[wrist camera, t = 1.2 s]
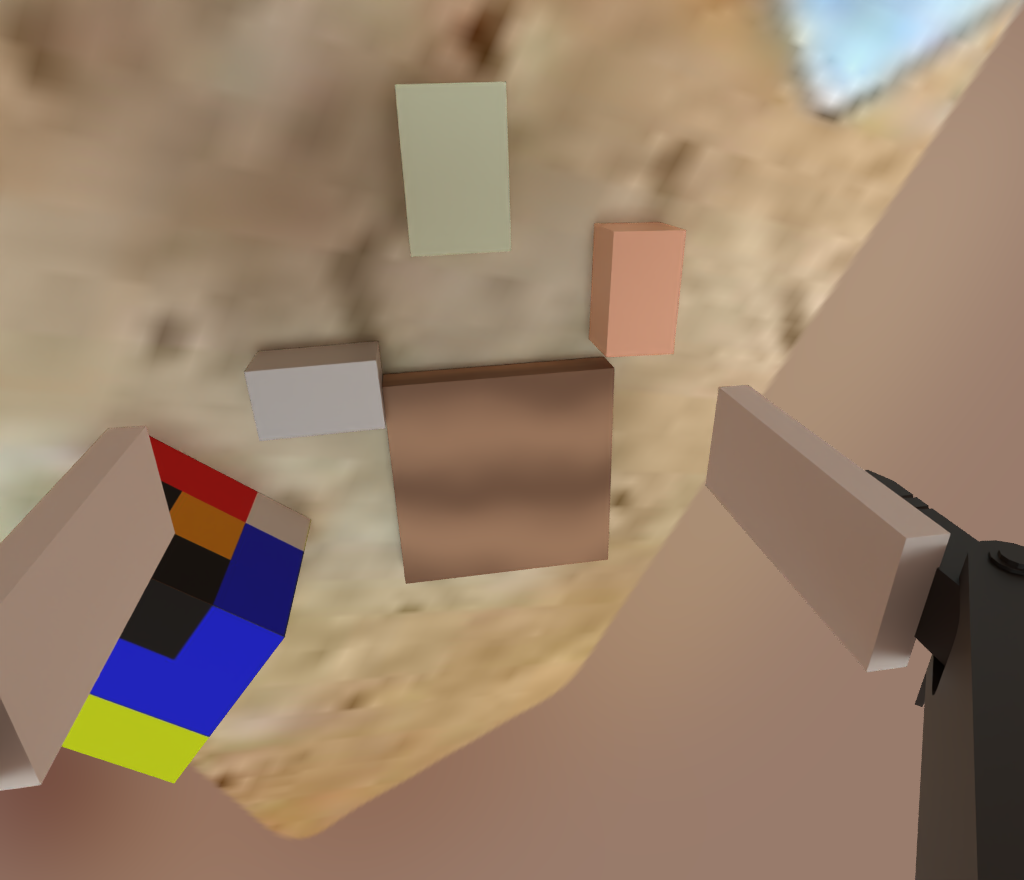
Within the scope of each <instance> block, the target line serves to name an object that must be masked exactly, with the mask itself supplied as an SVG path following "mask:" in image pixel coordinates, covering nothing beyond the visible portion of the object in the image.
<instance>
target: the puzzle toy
mask: <svg viewBox="0 0 1024 880" xmlns="http://www.w3.org/2000/svg"><path fill="white" fill-rule="evenodd" d="M149 438H150V442H151V445H152V449H153V453H154V457H155V460H156V464H157V468H158V472H159V475H160V479H161V483H162V486H163V490H164V494H165V498H166V501H167V505H168V509H169V513H170V516H171V520H172V524H173V527H174V531H175V534H174V536H173V538H172V540H171V542H170V544H169V545H168V547H167V549H166V551H165V553H164V555H163V557H162V559H161V560H160V562H159V564H158V566H157V568H156V570H155V572H154V574H153V575H152V577H151V579H150V581H149V583H148V585H147V587H146V589H145V590H144V592H143V594H142V596H141V598H140V600H139V602H138V604H137V605H136V607H135V609H134V611H133V613H132V615H131V617H130V619H129V620H128V622H127V624H126V626H125V628H124V630H123V632H122V634H121V635H120V637H119V639H118V641H117V643H116V645H115V647H114V649H113V650H112V652H111V654H110V656H109V658H108V660H107V662H106V664H105V665H104V667H103V669H102V671H101V673H100V675H99V677H98V679H97V680H96V682H95V684H94V686H93V688H92V690H91V692H90V694H89V696H88V697H87V699H86V701H85V703H84V705H83V707H82V709H81V711H80V712H79V714H78V716H77V718H76V720H75V722H74V724H73V726H72V727H71V729H70V731H69V733H68V735H67V737H66V739H65V741H64V742H63V744H62V747H65V748H68V749H71V750H75V751H77V752H81V753H83V754H86V755H89V756H92V757H96V758H99V759H102V760H105V761H108V762H111V763H114V764H117V765H120V766H123V767H126V768H129V769H133V770H135V771H138V772H141V773H144V774H147V775H150V776H153V777H157V778H159V779H163V780H166V781H169V782H172V783H175V782H176V780H177V779H178V778H179V776H180V775H181V774H182V772H183V771H184V770H185V768H186V767H187V766H188V764H189V763H190V762H191V760H192V759H193V758H194V756H195V755H196V754H197V752H198V751H199V750H200V748H201V747H202V746H203V745H204V743H205V742H206V741H207V739H208V738H209V737H210V735H211V734H212V733H213V731H214V730H215V729H216V727H217V726H218V725H219V723H220V722H221V721H222V719H223V718H224V717H225V715H226V714H227V713H228V711H229V710H230V709H231V707H232V706H233V705H234V703H235V702H236V701H237V700H238V698H239V697H240V696H241V694H242V693H243V692H244V690H245V689H246V688H247V686H248V685H249V684H250V682H251V681H252V680H253V678H254V677H255V676H256V674H257V673H258V672H259V670H260V669H261V668H262V666H263V665H264V664H265V662H266V661H267V660H268V659H269V657H270V656H271V655H272V653H273V652H274V651H275V649H276V648H277V647H278V645H279V644H280V643H281V641H282V640H283V639H284V637H285V634H286V629H287V625H288V620H289V616H290V612H291V607H292V603H293V598H294V594H295V590H296V585H297V581H298V576H299V572H300V568H301V563H302V559H303V554H304V550H305V545H306V541H307V537H308V532H309V528H310V523H311V519H309V518H307V517H305V516H303V515H301V514H299V513H297V512H295V511H294V510H292V509H290V508H288V507H286V506H284V505H282V504H280V503H278V502H276V501H274V500H272V499H270V498H268V497H266V496H265V495H263V494H261V493H259V492H257V491H255V490H253V489H251V488H249V487H247V486H245V485H243V484H241V483H239V482H238V481H236V480H234V479H232V478H230V477H228V476H226V475H224V474H222V473H220V472H218V471H216V470H214V469H212V468H211V467H209V466H207V465H205V464H203V463H201V462H199V461H197V460H195V459H193V458H191V457H189V456H187V455H185V454H184V453H182V452H180V451H178V450H176V449H174V448H172V447H170V446H168V445H166V444H164V443H162V442H160V441H158V440H156V439H155V438H153V437H151V436H149Z"/></svg>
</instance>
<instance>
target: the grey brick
mask: <svg viewBox="0 0 1024 880" xmlns="http://www.w3.org/2000/svg"><path fill="white" fill-rule="evenodd" d="M244 374H245V378H246V383H247V387H248V392H249V396H250V401H251V405H252V410H253V414H254V418H255V423H256V427H257V432H258V436H259V441H264V440H274V439H284V438H294V437H304V436H314V435H324V434H334V433H344V432H354V431H364V430H374V429H384V428H385V424H386V415H385V406H384V398H383V390H382V382H383V374H382V367H381V359H380V352H379V344H378V341H372V342H360V343H348V344H337V345H325V346H313V347H301V348H290V349H278V350H266V351H258V352H257V353H256V355H255V356H254V358H253V359H252V361H251V362H250V364H249V365H248V367H247V368H246V370H245V371H244Z"/></svg>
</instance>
